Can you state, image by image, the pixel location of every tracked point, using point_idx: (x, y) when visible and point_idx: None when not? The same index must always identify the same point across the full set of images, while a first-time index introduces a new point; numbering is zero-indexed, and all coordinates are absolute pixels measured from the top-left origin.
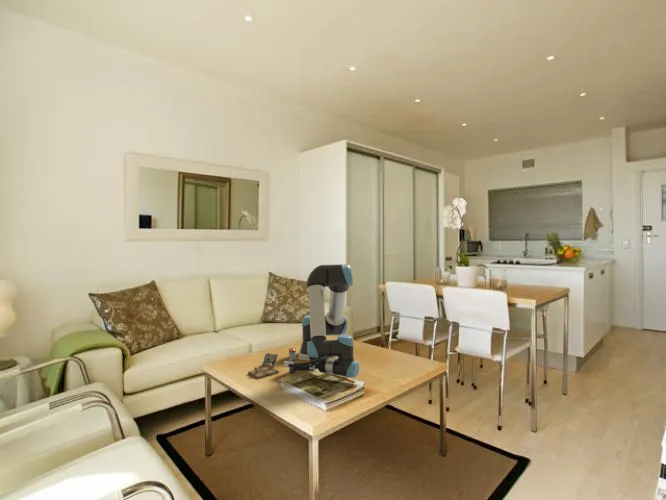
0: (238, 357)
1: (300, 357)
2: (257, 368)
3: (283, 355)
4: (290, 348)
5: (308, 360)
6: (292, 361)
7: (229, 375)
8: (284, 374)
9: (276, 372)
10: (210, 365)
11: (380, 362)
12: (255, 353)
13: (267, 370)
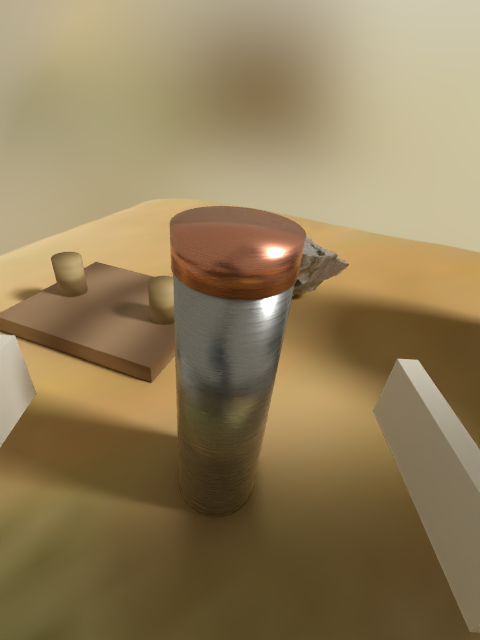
0: (280, 215)
1: (393, 418)
2: (56, 264)
3: (438, 292)
4: (258, 212)
5: (461, 609)
6: (182, 402)
7: (71, 240)
8: (127, 437)
9: (131, 368)
10: (170, 198)
11: None
12: (353, 230)
13: (138, 314)
